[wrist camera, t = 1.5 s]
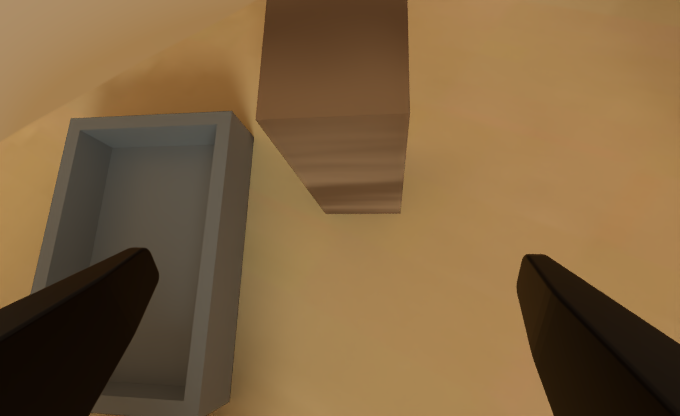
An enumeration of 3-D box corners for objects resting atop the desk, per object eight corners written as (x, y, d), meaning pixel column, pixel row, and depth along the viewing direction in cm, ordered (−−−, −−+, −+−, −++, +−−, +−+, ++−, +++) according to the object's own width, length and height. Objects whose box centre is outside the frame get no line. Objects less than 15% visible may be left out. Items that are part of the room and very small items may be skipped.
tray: (229, 401, 20) (197, 421, 17) (64, 390, 22) (5, 406, 18) (253, 137, 24) (231, 110, 21) (112, 142, 26) (70, 118, 22)
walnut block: (400, 213, 22) (410, 113, 10) (325, 213, 22) (255, 119, 11) (399, 143, 23) (406, -19, 11) (328, 145, 23) (267, -6, 12)
